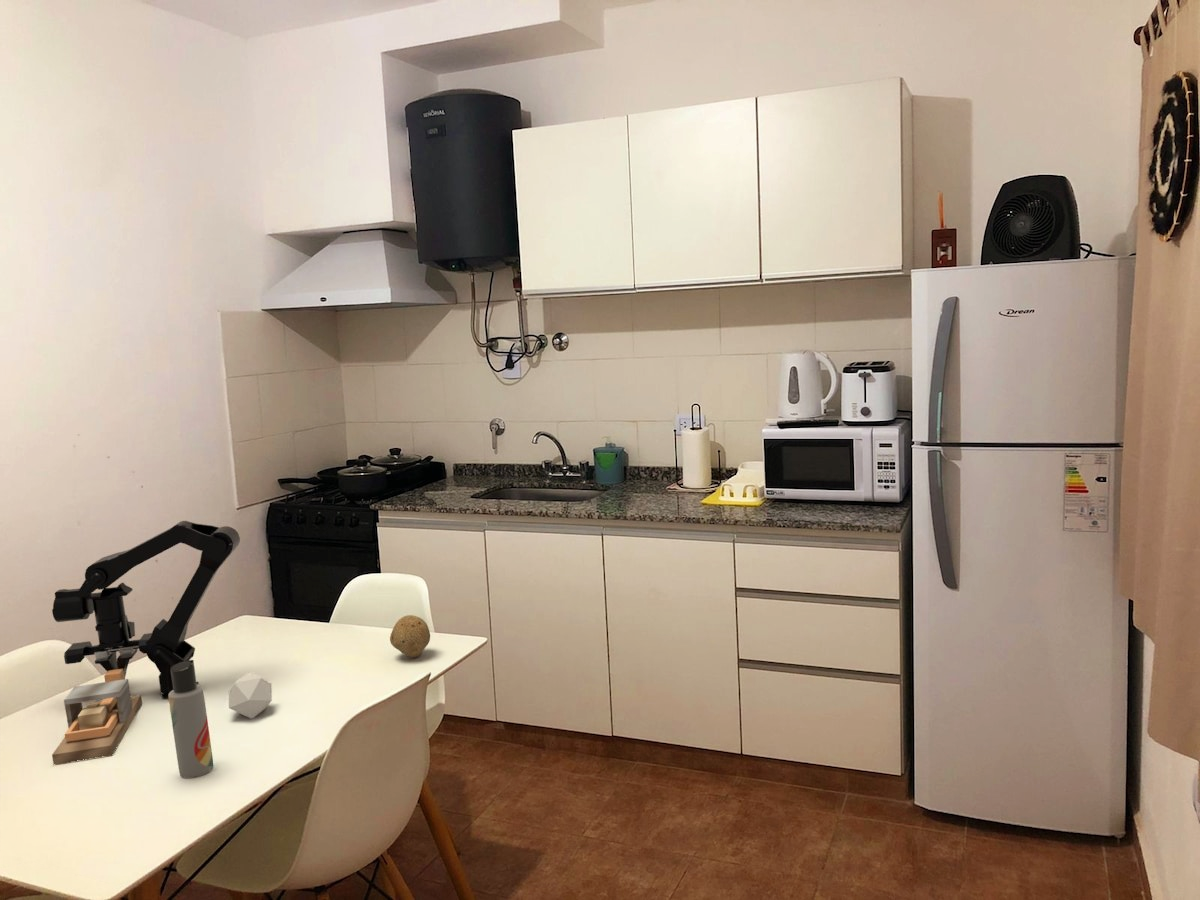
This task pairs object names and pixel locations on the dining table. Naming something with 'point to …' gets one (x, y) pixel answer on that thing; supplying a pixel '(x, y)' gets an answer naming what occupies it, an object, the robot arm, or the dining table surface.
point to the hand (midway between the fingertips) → (121, 685)
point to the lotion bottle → (189, 722)
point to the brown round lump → (410, 635)
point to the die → (250, 695)
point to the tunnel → (79, 694)
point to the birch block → (93, 717)
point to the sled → (112, 717)
